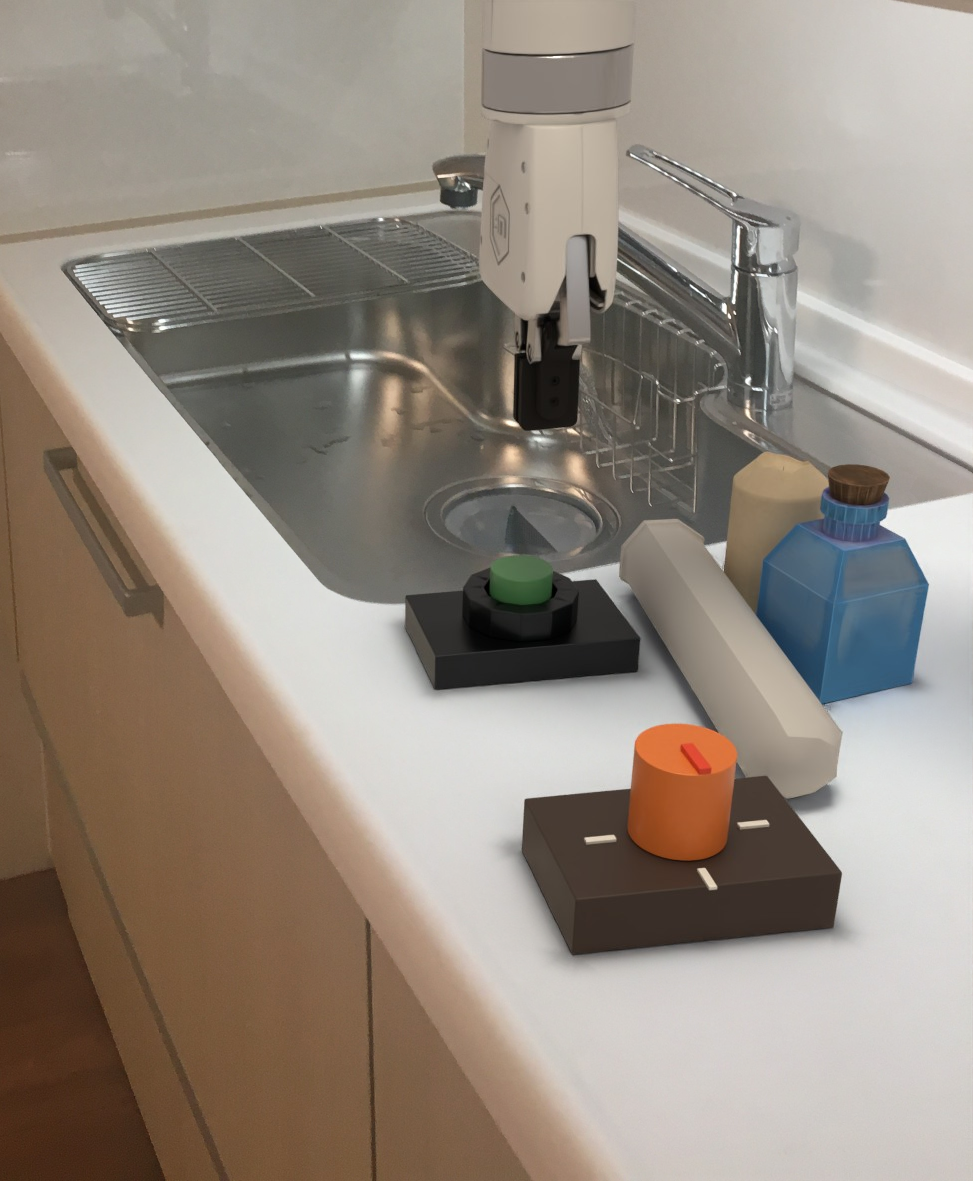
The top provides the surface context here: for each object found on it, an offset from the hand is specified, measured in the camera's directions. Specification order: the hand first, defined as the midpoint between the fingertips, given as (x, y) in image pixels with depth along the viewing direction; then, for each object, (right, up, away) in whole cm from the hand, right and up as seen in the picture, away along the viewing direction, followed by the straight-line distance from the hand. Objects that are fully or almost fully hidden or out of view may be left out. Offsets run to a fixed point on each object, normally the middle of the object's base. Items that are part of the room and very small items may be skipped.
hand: (544, 423), depth 90 cm
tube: (+10, -15, +1) cm, 18 cm away
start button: (0, -10, +5) cm, 11 cm away
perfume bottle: (+17, -14, +3) cm, 22 cm away
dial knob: (+3, -20, -16) cm, 26 cm away
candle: (+16, -11, +10) cm, 21 cm away
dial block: (+3, -23, -15) cm, 28 cm away
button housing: (0, -13, +6) cm, 14 cm away
